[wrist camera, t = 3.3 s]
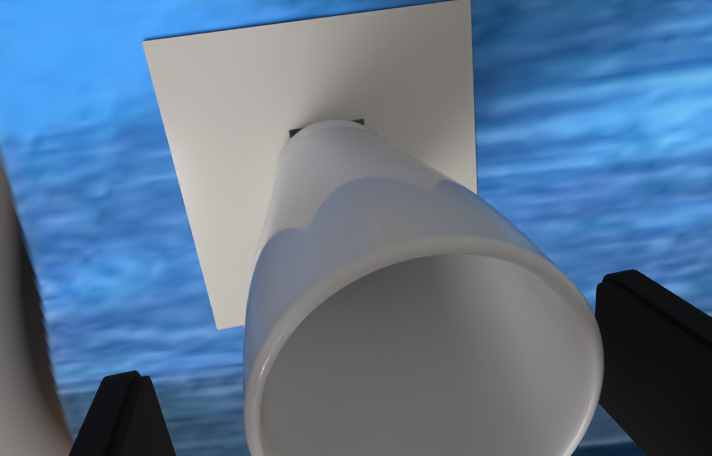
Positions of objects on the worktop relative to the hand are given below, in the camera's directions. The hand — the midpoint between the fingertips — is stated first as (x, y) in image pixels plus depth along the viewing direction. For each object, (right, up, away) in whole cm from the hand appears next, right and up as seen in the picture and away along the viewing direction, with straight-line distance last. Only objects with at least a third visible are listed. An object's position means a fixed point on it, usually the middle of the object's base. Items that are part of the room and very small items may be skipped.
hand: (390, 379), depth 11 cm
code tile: (-2, +5, +12) cm, 14 cm away
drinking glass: (-2, +5, +12) cm, 14 cm away
